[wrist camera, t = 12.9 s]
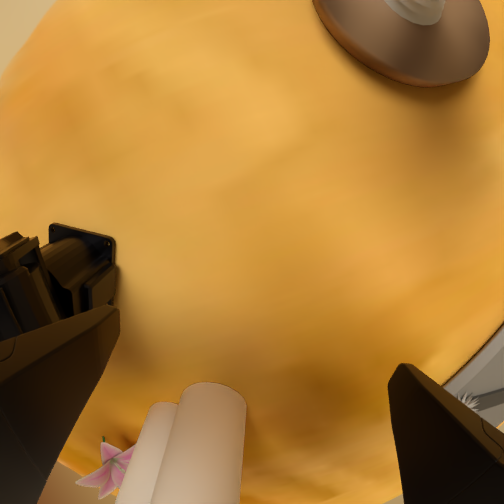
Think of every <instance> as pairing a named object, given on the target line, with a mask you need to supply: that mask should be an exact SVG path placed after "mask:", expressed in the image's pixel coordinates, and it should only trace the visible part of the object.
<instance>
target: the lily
mask: <svg viewBox="0 0 504 504" xmlns="http://www.w3.org/2000/svg"><path fill="white" fill-rule="evenodd" d="M102 438H103V442H101V459H102V464H103V466H102V467H101V468H99V469H98V470H96V471H95V472H93V473H91V474H89V475H87V476H85V477H83V478H81V479H79V480H77V481H76V482H75V483H76V484H78V485H80V486H86V487H100V491H99V496H98V499H102V498H104V497H105V496H107V495H109V494H110V493H111V492H113V491H114V490H115V489H116V488H117V487H118V488H119V489H120V487H121V484H122V481H123V478H124V476H125V473H126V470H127V467H128V465H129V462H130V459H131V456H132V454H133V451H134V448H135V446H136V444H135V445H134V446H132V447H131V448H129V449H128V450H126V451H124V452H122V451H121V450H120V449H118V448H116V447H114V446H112V445H110V444H108V443H105V438H104V436H103V437H102Z"/></svg>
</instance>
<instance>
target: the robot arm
mask: <svg viewBox="0 0 504 504" xmlns="http://www.w3.org/2000/svg"><path fill="white" fill-rule="evenodd" d="M53 227H54V228H55V231H54V228H53ZM106 241H108V242H109V243H110V245H108V244H107V242H106ZM39 244H40V243H39V240H38V237H37V236H35V237H32V238H29V237H23V236H21V235H20V234H19V233H18V232H14V233H12V234H10V235H8V236H6V237H4V238H2V239H0V504H37V502H38V500H39V497H40V495H41V493H42V491H43V488H44V486H45V484H46V482H47V481H46V480H47V479H48V477H49V475H50V473H51V471H52V469H53V467H54V464H55V463H56V461H57V458H58V456H59V454H60V452H61V450H62V448H63V446H64V444H65V442H66V441H67V439H68V437H69V435H70V433H71V431H72V429H73V427H74V425H75V423H76V421H77V419H78V418H79V416H80V414H81V412H82V410H83V408H84V407H85V405H86V403H87V401H88V399H89V397H90V396H91V394H92V392H93V390H94V389H95V387H96V385H97V383H98V381H99V380H100V378H101V376H102V374H103V372H104V369H105V367H106V365H107V362H108V360H109V358H110V355H111V353H112V351H113V348H114V346H115V344H116V342H117V339H118V337H119V334H120V311H119V309H118V308H117V307H114V306H113V296H114V295H115V278H116V267H115V265H114V249H115V241H114V239H113V238H112V237H110V236H107V235H103V234H99V233H95V232H90V231H86V230H82V229H78V228H74V227H70V226H66V225H62V224H59V223H53V224H51V225H50V226H49V243H48V244H46V245H44V246H43V247H41V248H39ZM106 304H108V305H106ZM388 395H389V404H390V414H391V423H392V430H393V435H394V440H395V446H396V451H397V457H398V463H399V470H400V476H401V483H402V491H403V498H404V504H504V433H502V432H501V431H500V430H498V429H497V428H495V427H494V426H493V425H491V424H490V423H489V422H487V421H486V420H485V419H483V418H482V417H480V416H479V415H478V414H477V413H475V412H474V411H473V410H472V409H470V408H469V407H468V406H466V405H465V404H464V403H462V402H461V401H460V400H458V399H457V398H456V397H454V396H453V395H452V394H451V393H449V392H448V391H447V390H445V389H444V388H443V387H441V386H440V385H439V384H437V383H436V382H435V381H433V380H432V379H431V378H429V377H428V376H427V375H425V374H424V373H423V372H422V371H420V370H419V369H418V368H416V367H415V366H414V365H412V364H409V363H401V364H399V365H398V367H397V368H396V370H395V372H394V373H393V375H392V377H391V378H390V380H389V382H388Z"/></svg>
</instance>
